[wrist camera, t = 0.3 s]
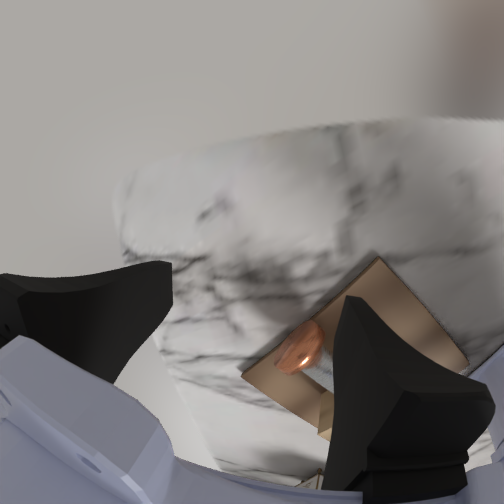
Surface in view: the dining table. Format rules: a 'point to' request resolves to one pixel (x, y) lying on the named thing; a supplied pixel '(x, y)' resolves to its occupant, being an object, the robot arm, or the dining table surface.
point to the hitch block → (304, 387)
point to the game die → (312, 482)
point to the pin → (307, 355)
